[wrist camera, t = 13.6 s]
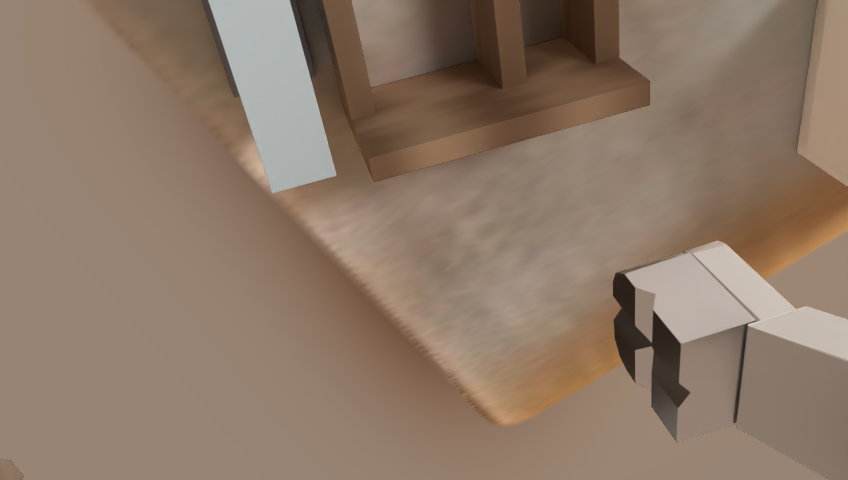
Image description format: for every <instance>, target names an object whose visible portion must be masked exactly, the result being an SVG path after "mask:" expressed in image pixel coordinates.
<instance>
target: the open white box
mask: <svg viewBox="0 0 848 480" xmlns="http://www.w3.org/2000/svg"><path fill="white" fill-rule="evenodd" d="M797 153H799V154H800V155H802V156H803V157H805V158H806V159H808V160H809V161H811V162H812V163H813V164H815V165H816V166H818V167H819V168H821V169H822V170H824V171H825V172H827V173H828V174H829V175H831V176H832V177H834V178H835V179H837V180H838V181H840V182H841V183H843V184H844V185H846V186H847V187H848V0H818V2H817V10H816V17H815V24H814V31H813V38H812V46H811V53H810V60H809V67H808V74H807V82H806V89H805V96H804V103H803V110H802V117H801V125H800V132H799V139H798V146H797Z"/></svg>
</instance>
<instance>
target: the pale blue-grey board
mask: <svg viewBox="0 0 848 480" xmlns="http://www.w3.org/2000/svg"><path fill="white" fill-rule="evenodd" d="M208 1H209V4H210V7H211V10H212V13H213V16H214V19H215V22H216V25H217V28H218V31H219V34H220V37H221V40H222V43H223V46H224V49H225V52H226V55H227V59H228V62H229V65H230V68H231V71H232V74H233V77H234V80H235V83H236V86H237V89H238V92H239V95H240V98H241V101H242V104H243V107H244V110H245V113H246V116H247V119H248V122H249V125H250V128H251V131H252V134H253V137H254V140H255V143H256V146H257V149H258V152H259V155H260V158H261V161H262V164H263V167H264V170H265V173H266V176H267V179H268V182H269V185H270V188H271V191H272V193H276V192H279V191H283V190H287V189H290V188H294V187H297V186H301V185H305V184H308V183H312V182H316V181H319V180H323V179H326V178H330V177H334V176H337V175H336V171H335V167H334V164H333V160H332V156H331V152H330V149H329V145H328V141H327V137H326V134H325V130H324V126H323V123H322V119H321V115H320V111H319V108H318V104H317V100H316V96H315V93H314V89H313V85H312V82H311V78H310V74H309V70H308V67H307V63H306V59H305V55H304V52H303V48H302V44H301V41H300V37H299V33H298V29H297V26H296V22H295V18H294V14H293V11H292V7H291V3H290V0H208Z"/></svg>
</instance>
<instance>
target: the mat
mask: <svg viewBox="0 0 848 480" xmlns="http://www.w3.org/2000/svg"><path fill="white" fill-rule="evenodd" d="M202 2H203V5H204V8H205V11H206V14H207V17H208V20H209V23H210V26H211V29H212V32H213V35H214V38H215V41H216V44H217V47H218V50H219V53H220V56H221V58H222V61H223V64H224V67H225V70H226V73H227V76H228V79H229V82H230V85H231V88H232V91H233V94H234V97H237V96H240V95H239V92H238V89H237V86H236V83H235V80H234V77H233V74H232V71H231V68H230V65H229V62H228V59H227V55H226V52H225V49H224V46H223V43H222V40H221V37H220V34H219V31H218V28H217V25H216V22H215V19H214V16H213V13H212V10H211V7H210V4H209V1H208V0H202ZM290 3H291V7H292V11H293V14H294V18H295V22H296V26H297V29H298V33H299V37H300V41H301V44H302V48H303V52H304V55H305V59H306V63H307V67H308V70H309V74H310V77H314V76H315V72H314V68H313V64H312V60H311V57H310V53H309V49H308V45H307V41H306V38H305V34H304V30H303V26H302V22H301V19H300V15H299V11H298V7H297V3H296V0H290Z"/></svg>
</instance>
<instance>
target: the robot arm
mask: <svg viewBox="0 0 848 480" xmlns="http://www.w3.org/2000/svg"><path fill="white" fill-rule="evenodd" d="M613 296H614V298H615V299H616V300H617V302H618V303H619V304H620V306H621V307H622V308H621V310H620V311H619V313H618V314H617V316H616V317H615V319H614V333H615V341H616V344H617V348H618V351H619V355H620V358H621V360H622V362H623V364H624V366H625V368H626V370H627V371H628V373H629V374H630V376H631V377H632V379H633V380H634V382H635V383H636V384H638V385H640V386H642V387H645V388H647V389H649V390H651V392H652V393H651V394H652V395H651V398H652V399H651V403H652V404H651V405H652V406H651V407H652V408H653V410H654V411H655V413H656V414H657V415H658V417H659V418H660V420H661V421H662V422H663V424H664V425H665V427H666V428H667V430H668V431H669V433H670V434H671V435H672V437H673V438H674V440H675V441H676V442H680V441H684V440H687V439H690V438H694V437H697V436H700V435H704V434H707V433H710V432H713V431H717V430H720V429H723V428H727V427H730V426H733V425H736V428H737V429H739V430H741V431H743V432H744V433H746V434H748V435H750V436H752V437H753V438H755V439H757V440H758V441H760V442H762V443H764V444H766V445H767V446H769V447H771V448H773V449H775V450H776V451H778V452H780V453H782V454H783V455H785V456H787V457H789V458H791V459H792V460H794V461H796V462H798V463H800V464H801V465H803V466H805V467H807V468H809V469H810V470H812V471H814V472H816V473H818V474H819V475H821V476H823V477H825V478H826V479H828V480H848V319H844V318H841V317H838V316H835V315H832V314H829V313H825V312H823V311H819V310H816V309H813V308H810V307H807V306H806V307H802V308H799V309H795V308H794V307H793V306H792V305H791V304H790V303H789V302H787V300H785V299H784V298H783V297H782V296H781V295H780V294H779V293H778V292H777V291H776V290H775V289H774V288H773V287H771V286H770V285H769V284H768V283H767V282H766V281H765V280H764V279H763V278H762V277H761V276H760V275H759V274H758V273H757V272H756V271H754V270H753V269H752V268H751V267H750V266H749V265H748V264H747V263H746V262H745V261H744V260H743V259H742V258H741V257H739V256H738V255H737V254H736V253H735V252H734V251H733V250H732V249H731V248H730V247H729V246H728V245H727V244H725V243H723V242H720V241H714V242H711V243H708V244H705V245H702V246H698V247H695V248H692V249H689V250H686V251H684V252H683V253H678V254H675V255H671V256H668V257H665V258H662V259H659V260H655V261H652V262H649V263H646V264H643V265H639V266H636V267H633V268H630V269H626V270H623V271H620V272H617V273H616V274H615V277H614V280H613ZM23 477H24V476H23V474H22V473H21V472H20V471H19V470H18V468H17V467H16V466H15V465H14V464H13V462H12V461H11V460H6V459H0V480H23Z"/></svg>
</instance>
